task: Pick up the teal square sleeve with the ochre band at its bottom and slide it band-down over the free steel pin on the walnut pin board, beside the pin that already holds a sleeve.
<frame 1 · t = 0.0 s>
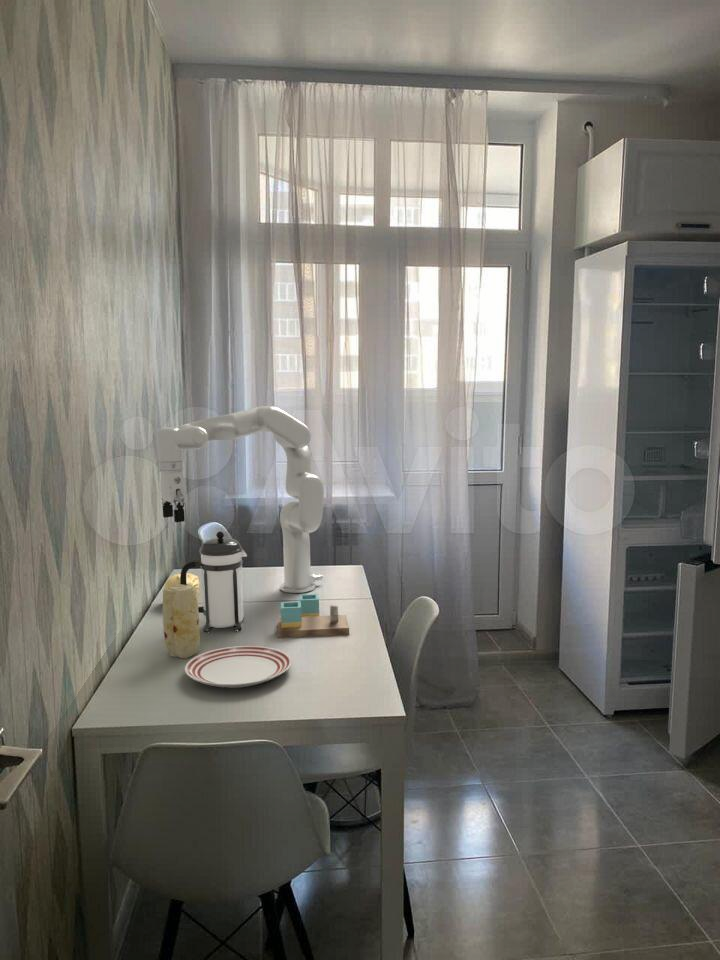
hand: (173, 519, 240), 31 cm above the table, tool pointing down, fingers open, 9 cm apart
coffee press: (219, 627, 230), on the table
dinner plate: (239, 675, 195), on the table
seated sleeve: (291, 623, 226), point 2 cm above the table, touching pin board
sleeve: (309, 615, 240), on the table
pin board: (313, 629, 227), on the table
sculpture: (182, 604, 254), on the table
food model: (182, 656, 208), on the table
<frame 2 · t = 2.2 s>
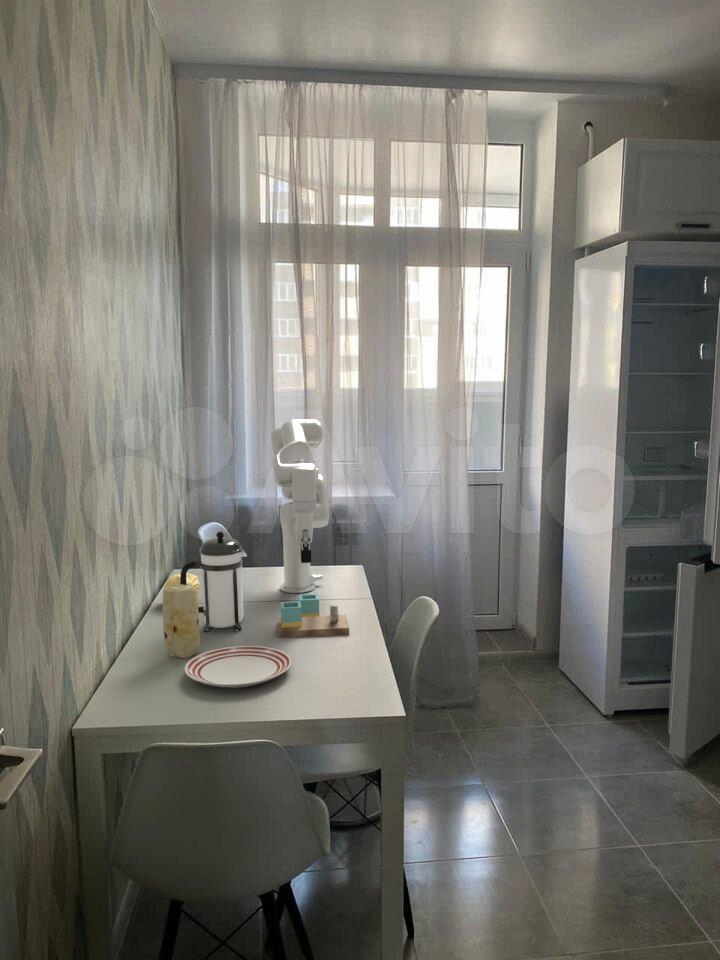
hand: (305, 558, 237), 19 cm above the table, tool pointing down, fingers open, 9 cm apart
nothing on the table moved.
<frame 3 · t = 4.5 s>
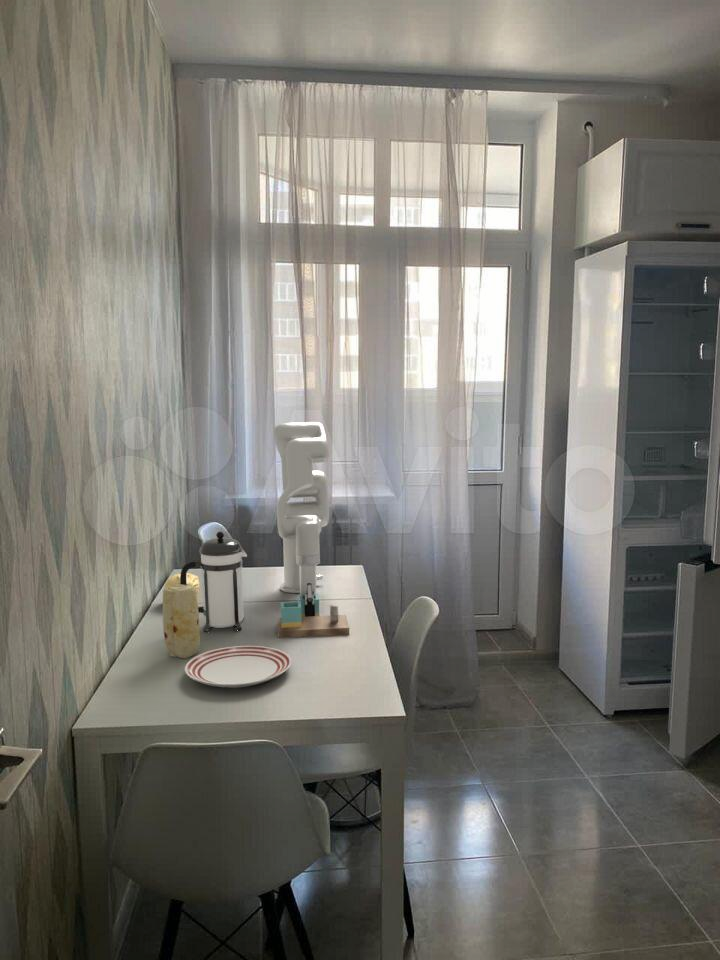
hand: (309, 612, 240), 1 cm above the table, tool pointing down, fingers closed on sleeve, 6 cm apart
sleeve: (309, 615, 240), on the table, touching gripper
everything else where it was.
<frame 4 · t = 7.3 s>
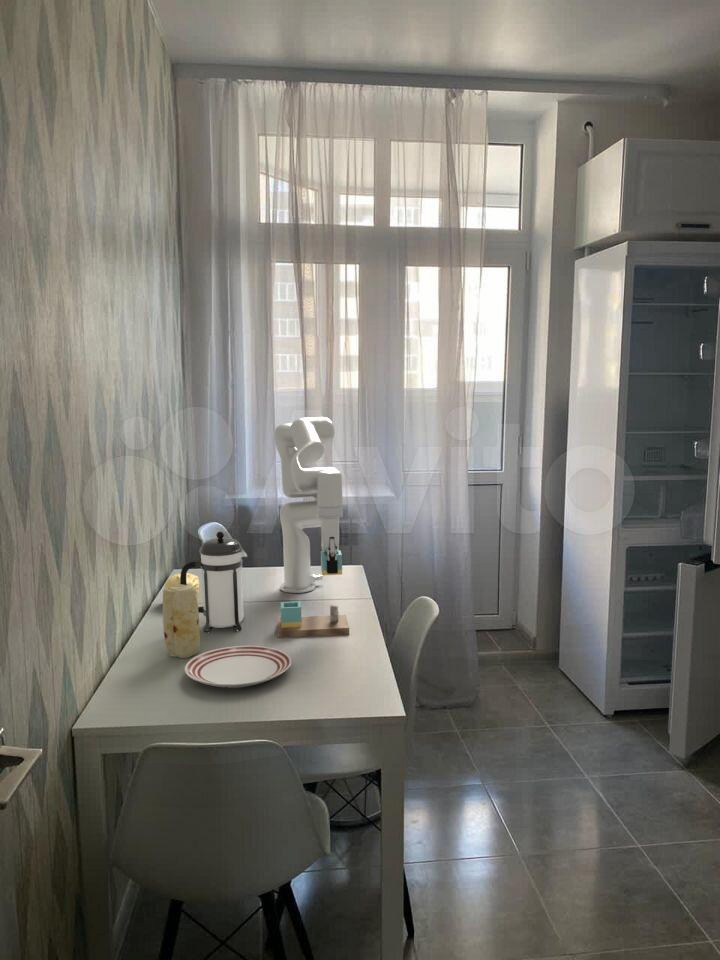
hand: (331, 569, 226), 18 cm above the table, tool pointing down, fingers closed on sleeve, 6 cm apart
sleeve: (331, 572, 226), point 17 cm above the table, touching gripper
everything else where it was.
when the fingers open (4 cm above the table, at t = 10.4 s): sleeve drops 1 cm, resting on pin board.
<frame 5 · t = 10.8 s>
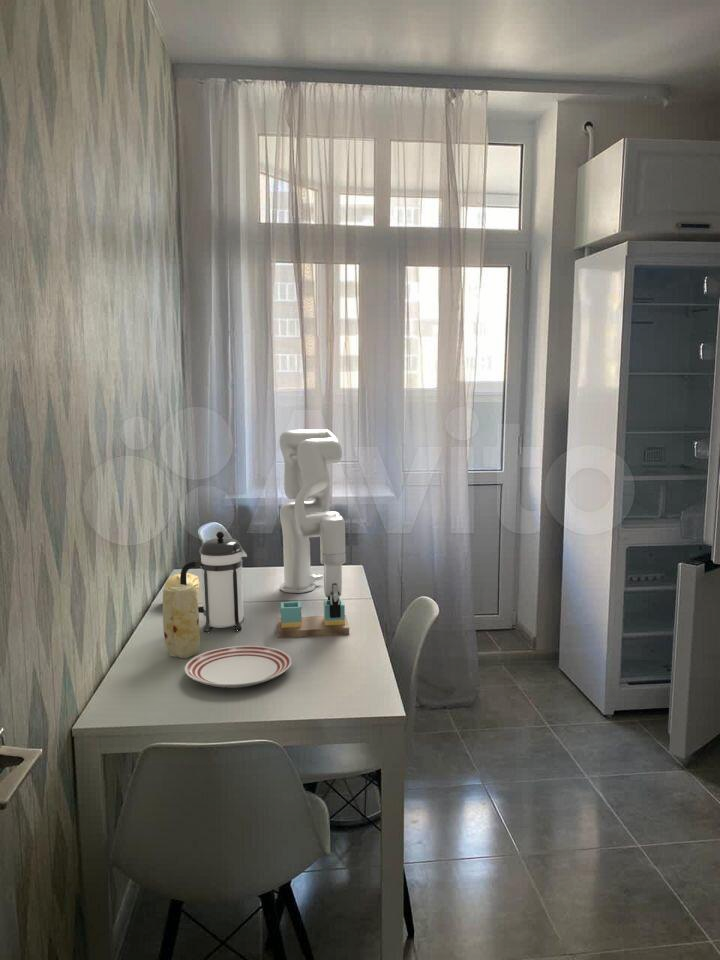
hand: (334, 612, 227), 5 cm above the table, tool pointing down, fingers open, 9 cm apart
sleeve: (334, 621, 227), point 2 cm above the table, touching pin board
everything else where it was.
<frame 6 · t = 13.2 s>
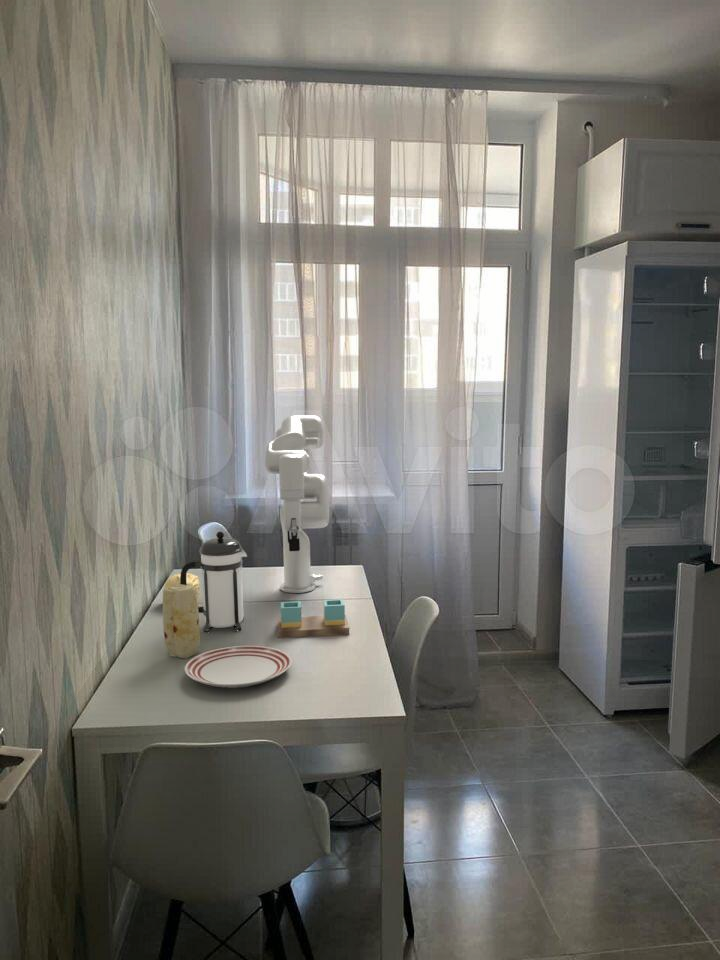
hand: (293, 546, 237), 23 cm above the table, tool pointing down, fingers open, 9 cm apart
nothing on the table moved.
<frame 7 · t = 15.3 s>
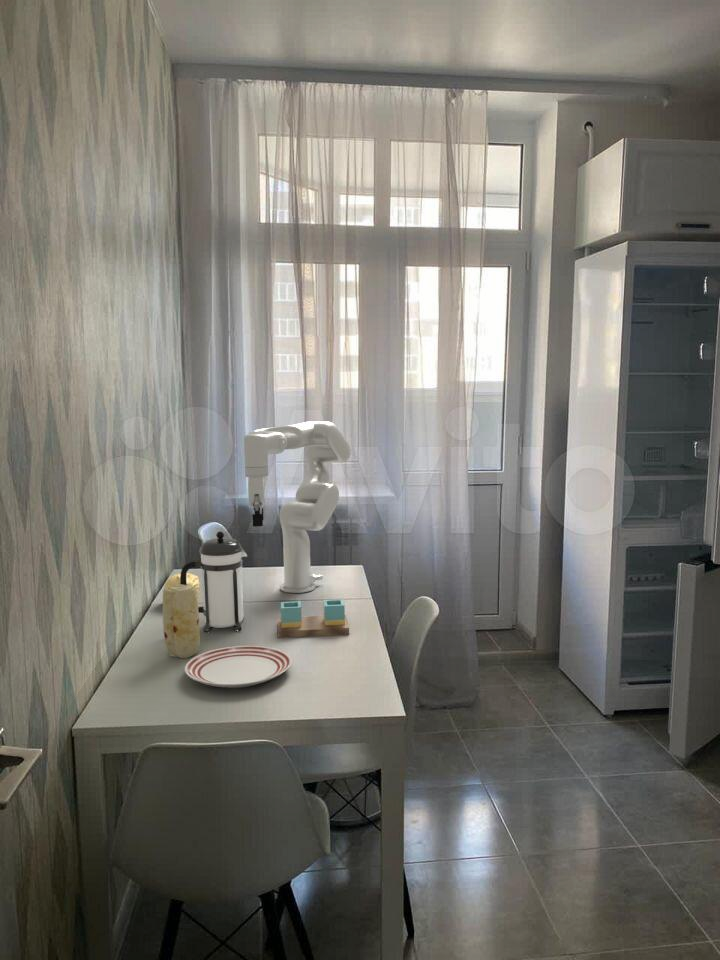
hand: (258, 523, 246), 28 cm above the table, tool pointing down, fingers open, 9 cm apart
nothing on the table moved.
at the end: sleeve 0.1 cm from the target spot, point 2.0 cm above the table; sleeve tilted 0°; seated sleeve moved 0.0 cm from its start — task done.
